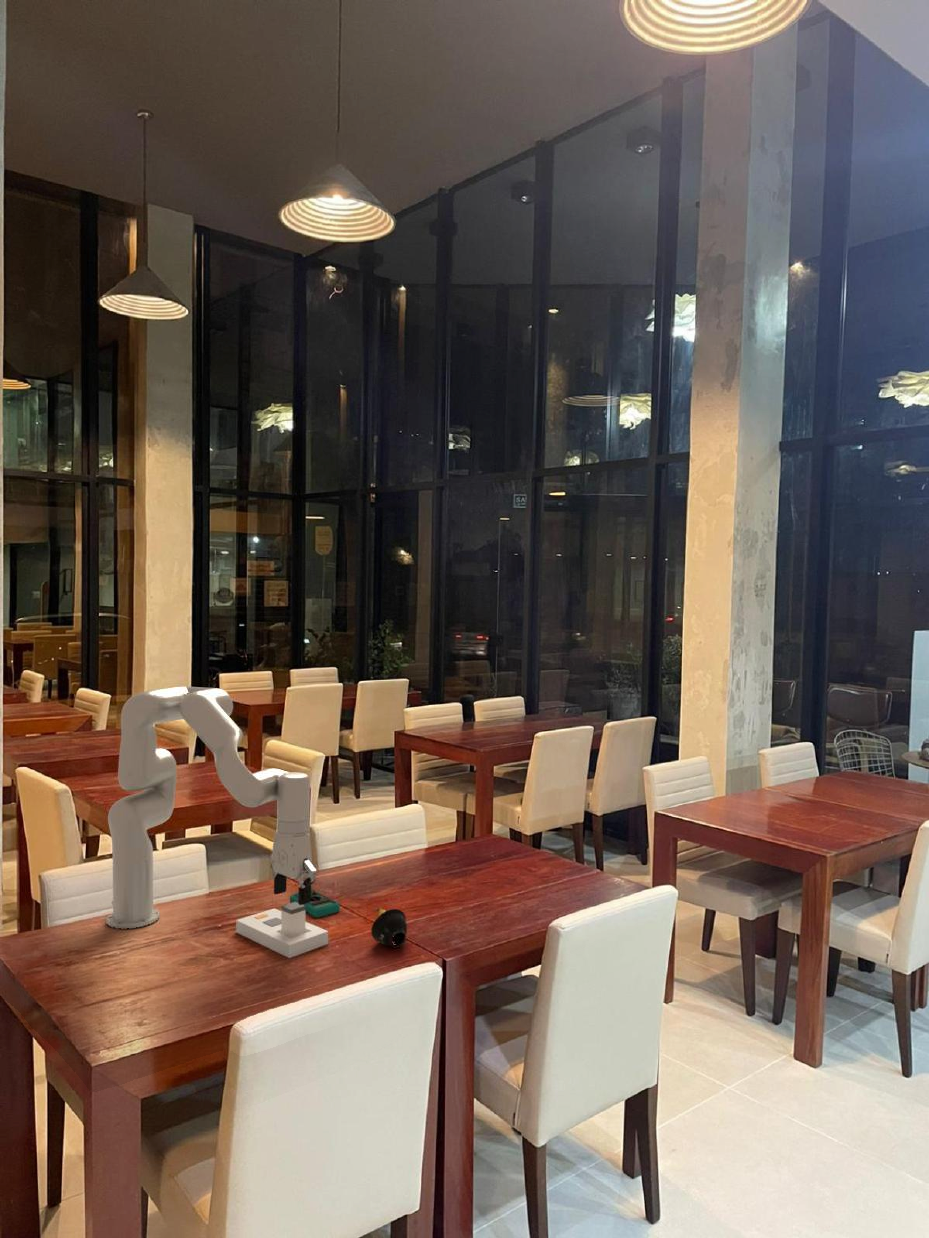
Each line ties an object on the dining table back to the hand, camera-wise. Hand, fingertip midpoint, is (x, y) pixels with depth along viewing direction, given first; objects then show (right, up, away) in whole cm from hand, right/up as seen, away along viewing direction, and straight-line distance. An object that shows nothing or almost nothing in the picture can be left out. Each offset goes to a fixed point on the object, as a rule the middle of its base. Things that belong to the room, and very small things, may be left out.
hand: (292, 897), depth 201 cm
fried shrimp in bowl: (+22, -11, +4) cm, 25 cm away
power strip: (-3, -11, +3) cm, 12 cm away
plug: (0, -11, 0) cm, 11 cm away
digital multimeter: (+1, -11, +24) cm, 27 cm away
